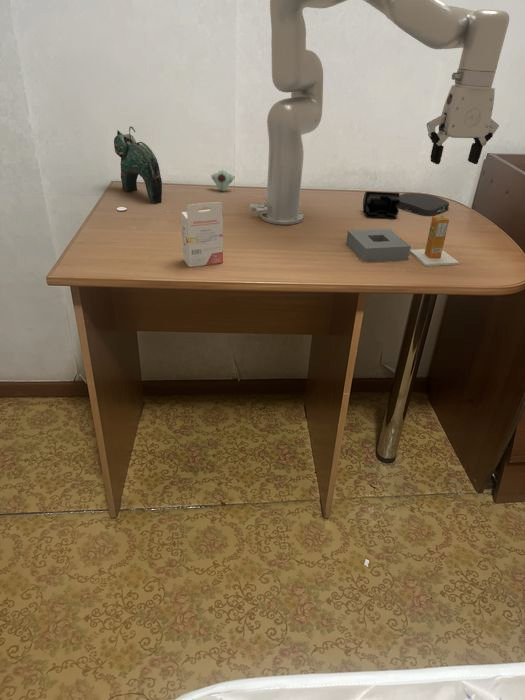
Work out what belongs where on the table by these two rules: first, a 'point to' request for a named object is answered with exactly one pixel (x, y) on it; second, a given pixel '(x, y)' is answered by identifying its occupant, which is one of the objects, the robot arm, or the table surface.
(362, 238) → the pocket block
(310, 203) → the table surface
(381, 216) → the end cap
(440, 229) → the supplement box
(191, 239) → the ink cartridge box
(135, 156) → the ceramic cat
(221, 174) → the valved respirator
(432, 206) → the media streaming box
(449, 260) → the rubber mat
